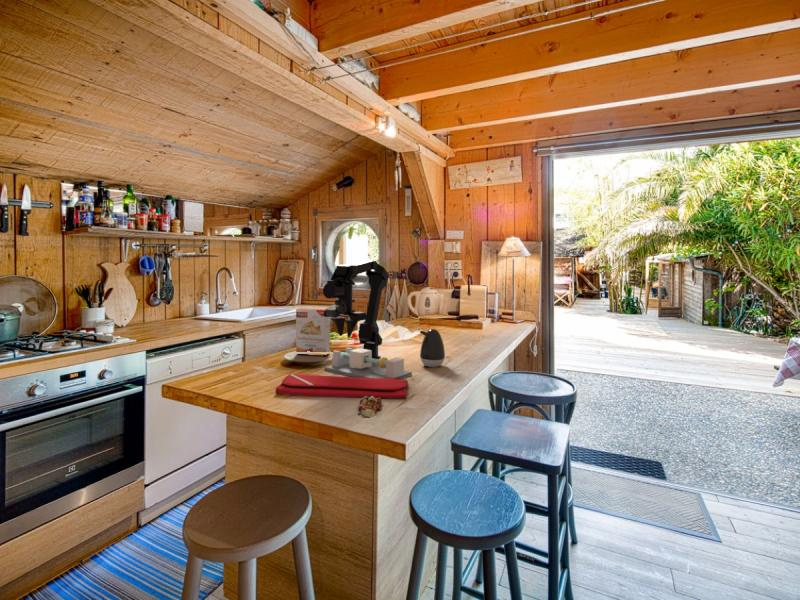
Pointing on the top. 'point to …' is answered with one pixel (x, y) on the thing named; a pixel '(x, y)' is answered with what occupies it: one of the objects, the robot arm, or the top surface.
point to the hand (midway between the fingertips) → (344, 336)
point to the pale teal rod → (371, 360)
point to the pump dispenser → (432, 349)
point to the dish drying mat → (342, 386)
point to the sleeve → (360, 358)
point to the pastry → (369, 406)
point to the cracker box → (312, 330)
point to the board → (367, 368)
